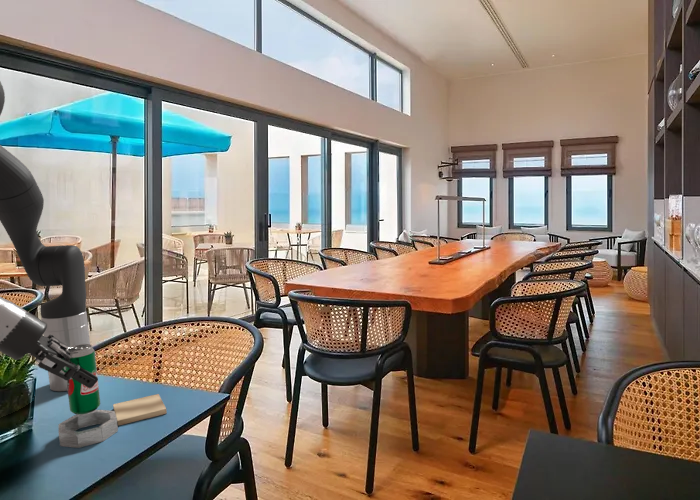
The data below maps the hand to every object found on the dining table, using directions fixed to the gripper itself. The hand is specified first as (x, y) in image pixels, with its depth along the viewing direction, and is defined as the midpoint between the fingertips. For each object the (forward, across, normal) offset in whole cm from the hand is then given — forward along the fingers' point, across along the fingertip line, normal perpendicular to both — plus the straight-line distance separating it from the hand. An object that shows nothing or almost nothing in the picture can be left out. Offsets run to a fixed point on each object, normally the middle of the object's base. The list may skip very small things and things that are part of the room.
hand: (93, 378), depth 93 cm
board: (+13, +5, +2) cm, 14 cm away
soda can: (+3, 0, +6) cm, 6 cm away
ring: (+6, 0, +9) cm, 11 cm away
